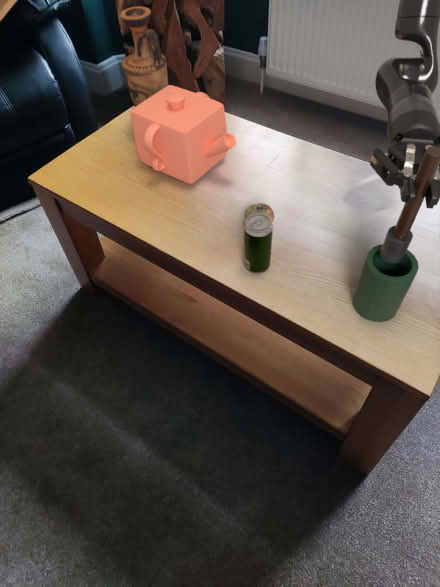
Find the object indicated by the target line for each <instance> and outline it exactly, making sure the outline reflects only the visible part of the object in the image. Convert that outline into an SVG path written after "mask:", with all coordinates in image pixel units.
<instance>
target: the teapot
mask: <svg viewBox="0 0 440 587" xmlns="http://www.w3.org/2000/svg"><path fill="white" fill-rule="evenodd" d="M129 113H130V120H131V127H132V134H133V140H134V144H135V145H134V146H135V151H136V153H137V156H138V159H139V162H141V163H143V164H145V165H147V166H149V167H150V168H152V169H153V170H154V171H156V172H161V173H163V174H165V175H167V176H169V177H172V178H174V179H177V180H178V181H180V180H181V181H180V182H182V181H184V182H183V183H185V184H186V183H187V184H189V185H193V184H194V183H196V182H197V181H198V180H200V178H202V177H203V176H204V175H206V173H207V172H209V171H210V170H211V169H212V168H213V167H215V166H216V165H217V164H218V163H219V162H220V161H221V160H222V159H224V158H225V157H226V156H227V154H228V151H230V150H231V149H234V148H235V147H236V144H237V139H236V137H235V136H234V134H233V133H231V132H227V120H226V113H225V105H224V104H223V103H222V102H220V101H218V100H216V99H213V98H211V97H210V96H209V95H208V94H207V93H205V92H203V91H196V92H194V91H190V90H187V89H186V88H182V87H179V86H175V85H172V84H168V86H167V87H165V88H164V89H162V90H160V91H159V92H157V93H156V94H154V95H153V96H151V97H150V98H148V99H146V100H145V101H144V102H142V103H141V104H139V105H138V106H136V107H133V108H132V109H130V111H129Z"/></svg>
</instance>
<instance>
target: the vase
mask: <svg viewBox="0 0 440 587" xmlns="http://www.w3.org/2000/svg"><path fill="white" fill-rule="evenodd" d="M151 16H152V10H151V9H150V8H149V7H146V6H138V5H137V6H131V7H128V8H125V9H124V10H122V11H121V12H120V14H119V18H120V20H122V22H123V23H124V25H125V27H127V28H129V29H130V31H131V34H132V39H133V43H134V44H133V45H134V53H132V54H129V55H127V56H126V57H124V58H123V59H122V62H121V68H122V70H123V74H124V77H125V80H126V85H127V87H128V90H129V91H128V92H129V94H130V99H131V101H132V104H133V108H135V107H136V106H138V105H139V104H141V103H142V102H144V101H145V100H146V99H148V98H150V97H151V96H153V95H154V94H156V93H157V92H159V91H160V90H162V89H164V88H165V87H167V86H168V85H169V76H168V63H167V57H166V56H165V55H164V54H163V53H162V49H161V47H160V40H159V36H158V34H157V32H156V31H155V29H153V28H147V27H148V24H149V23H150V20H151Z"/></svg>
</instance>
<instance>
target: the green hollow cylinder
mask: <svg viewBox="0 0 440 587" xmlns="http://www.w3.org/2000/svg"><path fill="white" fill-rule="evenodd" d="M382 245H383V243H381V244H377V245H376V246H375V245H374V246H373V247H372V248H370V250H368V251H367V254H366V257H365V260H364V262H363V265H362V268H361V271H360V274H359V277H358V280H357V282H356V285H355V288H354V292H353V295H352V298H351V301H352V302H351V304H352V306H353V309H354V311H355V312H356V313H357V314H358V315H359V316H360V317H362V318H364V319H365V320H368V321H371V322H376V323H382V322H383V323H384V322H388V321H390V320H391V319H393V318H394V317H395V316H396V315H397V313H398V311H399V310H400V307H401V306H402V304H403V301H404V300H405V298H406V296H407V294H408V292H409V291H410V290H409V289H410V288H411V286H412V285H413V284H412V283H413V282H414V280H415V278H416V276H417V274H418V272H419V261H418V259H417V258H416V256H415V255H414V253H412V252H411V251H410V250H409V249H407V251H406V253H405V255H404V258H403V260H402V261H401V262H399V263H394V264H393V263H388V262H386V261H384V260H383V259H382V258H381V256H380V250H381V247H382Z"/></svg>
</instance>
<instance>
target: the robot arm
mask: <svg viewBox="0 0 440 587" xmlns="http://www.w3.org/2000/svg"><path fill="white" fill-rule="evenodd" d="M439 28H440V0H399V3H398V9H397V15H396V21H395V26H394V37H395V39H396V40H398V41H401V42H404V43H409V44H412V45H414V46H416V47H417V48H418V50H419V53H420V54H419V55H420V56H417V57H416V56H393V57H389V58H387V59H386V60H385V61H383V62H382V63H381V64H380V66H379V67H378V69H377V72H376V75H375V80H374V84H375V91H376V95H377V97H378V99H379V101H380V103H381V104H382V105H383V106H384V108H385V109H386V111H387V123H386V136H387V145H388V146H387V150H382V149H381V148H374V149H373V152H372V154H371V159H370V162H369V166H370V167H371V168H372V169H373V170H374V172H375V173H376V174H377V175H378V176H379V178H380V179H381V180H382V181H383V182H384V184H385V185H386V186H388V187H393V186H397V187H398V189H399V194H400V196H399V197H400V201H401V203H404V204H405V206H412V204H413V201H414V199H415V195H416V192H415V183H414V179H415V177H413V175H416V174H417V172H418V169H419V167H420V164H421V162H422V159H423V157H424V154H425V152H426V150H427V148H429V147H439V148H440V121H439V116H438V112H437V109H436V108H435V105H434V100H433V94H434V92H435V91H436V89H437V87H438V84H439V79H440V69H439V68H440V67H439V52H438V51H439V50H438V43H439V42H438V41H439ZM439 168H440V164H439V166H438V169H437V171H436V173H435V175H434V178H433V180H432V182H431V184H430V187H429V189H428V191H427V193H426V196H425V198H424V200H425V208H426V209H433V208H434V207H435V206H437V205H438V203H439V201H440V171H439Z"/></svg>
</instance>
